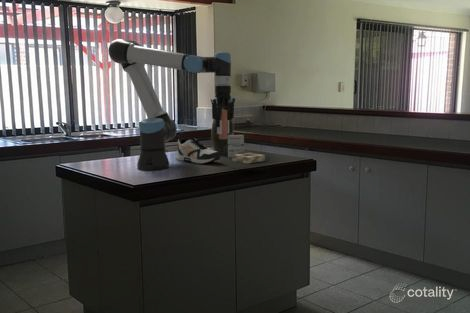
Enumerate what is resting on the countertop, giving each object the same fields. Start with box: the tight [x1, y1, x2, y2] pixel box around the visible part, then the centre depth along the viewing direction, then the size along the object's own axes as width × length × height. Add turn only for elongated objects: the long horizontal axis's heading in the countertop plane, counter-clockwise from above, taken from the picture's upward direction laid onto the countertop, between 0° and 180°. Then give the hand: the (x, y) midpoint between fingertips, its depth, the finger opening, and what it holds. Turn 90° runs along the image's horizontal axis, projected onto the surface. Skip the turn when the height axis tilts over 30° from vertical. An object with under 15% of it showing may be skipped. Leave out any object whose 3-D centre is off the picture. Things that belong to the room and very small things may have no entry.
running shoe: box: [175, 137, 221, 165], centre depth 246 cm, size 11×30×12 cm, turn 51°
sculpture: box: [210, 106, 235, 156], centre depth 271 cm, size 11×14×30 cm
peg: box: [219, 110, 227, 139], centre depth 233 cm, size 4×4×14 cm
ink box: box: [227, 134, 245, 158], centre depth 261 cm, size 9×5×12 cm, turn 84°
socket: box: [231, 152, 266, 164], centre depth 247 cm, size 12×12×3 cm
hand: (223, 133), depth 234 cm, fingers closed on peg, 4 cm apart
